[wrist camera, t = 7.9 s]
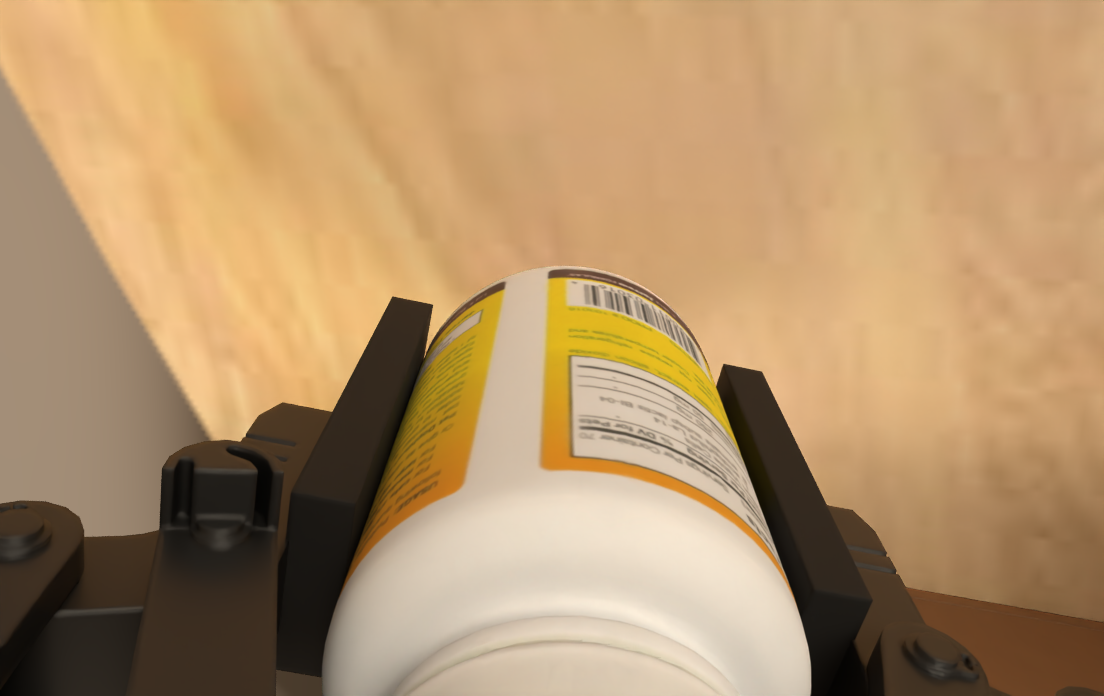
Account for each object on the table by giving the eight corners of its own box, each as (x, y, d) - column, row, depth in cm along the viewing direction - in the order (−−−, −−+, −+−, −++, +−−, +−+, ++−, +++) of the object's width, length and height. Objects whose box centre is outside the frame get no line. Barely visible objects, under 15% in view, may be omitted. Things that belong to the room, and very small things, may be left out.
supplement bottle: (452, 526, 18) (330, 1112, 9) (395, 276, 16) (153, 704, 7) (720, 496, 18) (887, 1078, 8) (698, 235, 16) (891, 631, 6)
